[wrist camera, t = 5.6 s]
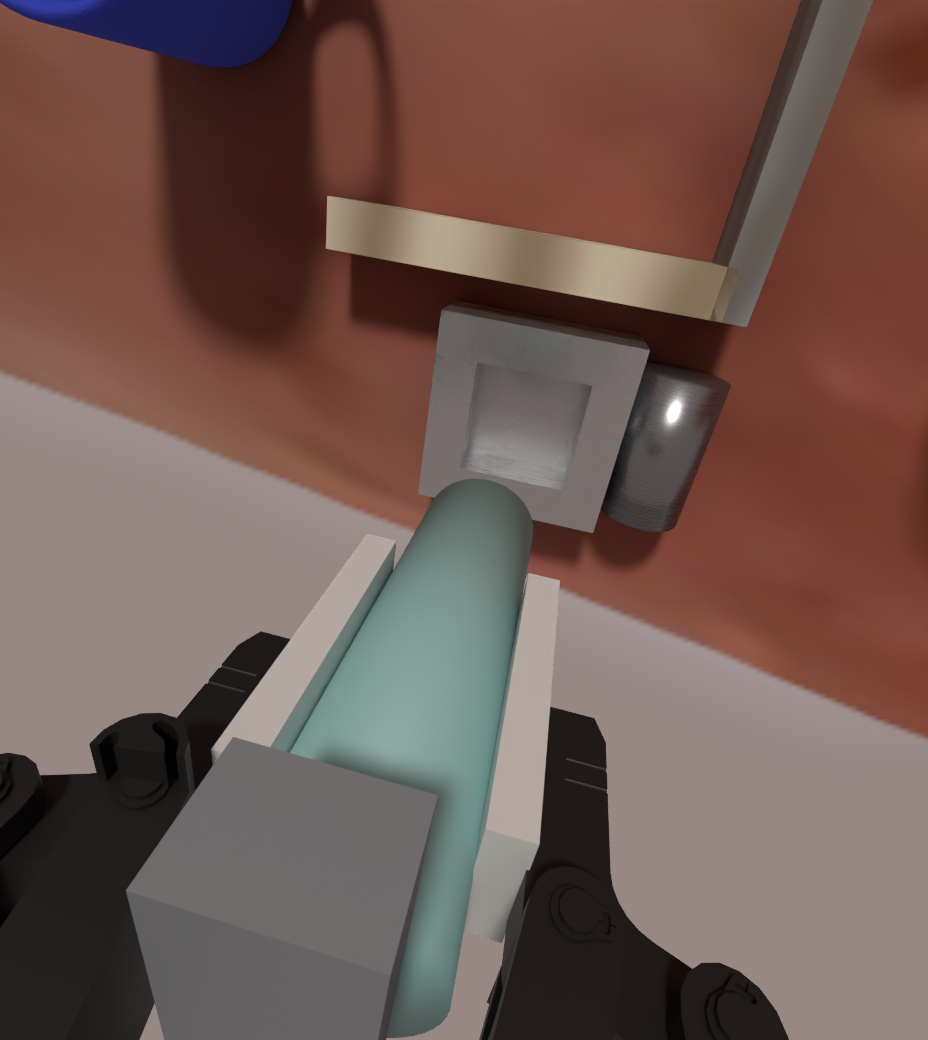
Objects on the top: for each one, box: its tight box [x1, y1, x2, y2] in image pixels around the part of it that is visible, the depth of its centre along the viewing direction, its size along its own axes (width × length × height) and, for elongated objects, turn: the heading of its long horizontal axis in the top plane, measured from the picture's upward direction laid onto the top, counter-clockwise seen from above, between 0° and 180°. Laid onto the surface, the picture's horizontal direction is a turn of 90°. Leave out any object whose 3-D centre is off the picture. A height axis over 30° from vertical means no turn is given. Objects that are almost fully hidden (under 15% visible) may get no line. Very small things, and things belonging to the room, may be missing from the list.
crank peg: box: [126, 479, 533, 1040], centre depth 12 cm, size 3×8×13 cm, turn 170°
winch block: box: [418, 300, 731, 533], centre depth 27 cm, size 13×9×4 cm
